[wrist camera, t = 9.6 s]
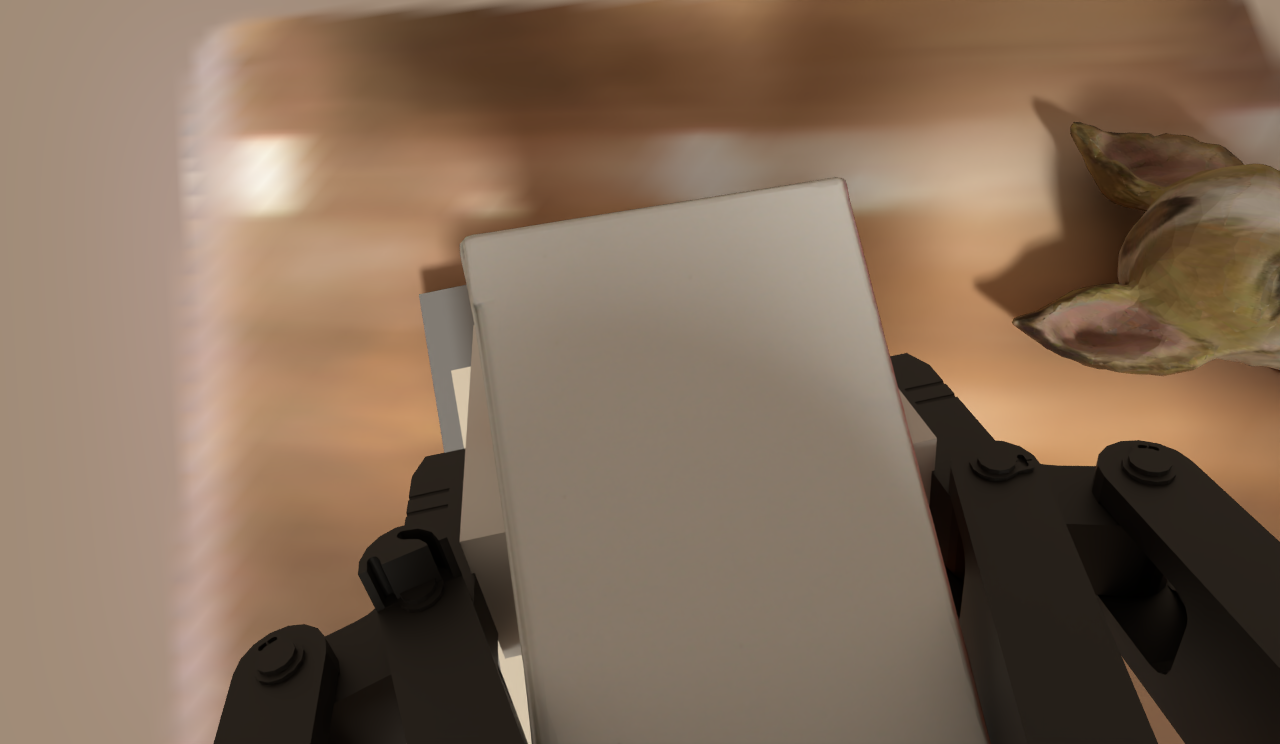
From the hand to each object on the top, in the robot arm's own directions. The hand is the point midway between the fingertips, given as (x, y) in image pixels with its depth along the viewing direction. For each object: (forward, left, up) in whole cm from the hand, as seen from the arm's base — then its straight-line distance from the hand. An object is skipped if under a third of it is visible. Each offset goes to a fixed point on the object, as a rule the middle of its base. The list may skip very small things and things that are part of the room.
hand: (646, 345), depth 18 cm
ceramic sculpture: (-24, -1, -15) cm, 28 cm away
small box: (0, +4, -4) cm, 5 cm away
